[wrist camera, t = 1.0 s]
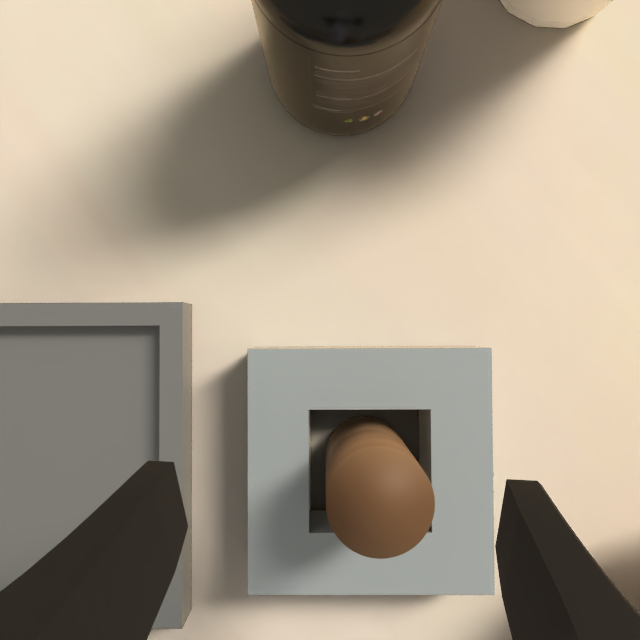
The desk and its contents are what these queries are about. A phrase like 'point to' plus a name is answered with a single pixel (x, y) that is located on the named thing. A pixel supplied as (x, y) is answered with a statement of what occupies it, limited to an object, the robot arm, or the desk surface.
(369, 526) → the dowel
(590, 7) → the foam cup
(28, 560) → the tray
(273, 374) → the square hole block
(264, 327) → the desk surface
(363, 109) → the supplement bottle
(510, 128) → the desk surface
